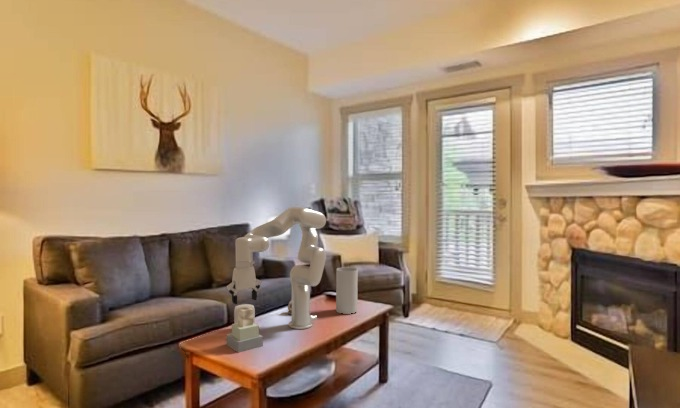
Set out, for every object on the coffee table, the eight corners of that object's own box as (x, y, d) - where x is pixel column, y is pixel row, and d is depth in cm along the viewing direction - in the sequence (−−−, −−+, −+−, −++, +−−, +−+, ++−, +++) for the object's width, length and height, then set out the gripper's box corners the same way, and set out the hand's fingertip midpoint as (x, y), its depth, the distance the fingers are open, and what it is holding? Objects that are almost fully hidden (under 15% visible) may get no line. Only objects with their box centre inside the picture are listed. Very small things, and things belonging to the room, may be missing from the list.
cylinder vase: (336, 308, 251) (337, 267, 251) (357, 308, 251) (357, 267, 250) (335, 314, 239) (336, 271, 238) (357, 314, 238) (357, 271, 238)
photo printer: (234, 330, 209) (234, 306, 209) (234, 327, 214) (234, 304, 213) (254, 329, 212) (255, 305, 212) (254, 326, 216) (254, 302, 216)
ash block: (247, 322, 193) (248, 307, 193) (253, 324, 189) (253, 309, 189) (238, 324, 190) (238, 308, 190) (243, 326, 186) (243, 311, 186)
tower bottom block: (250, 339, 198) (250, 329, 198) (262, 347, 189) (262, 336, 189) (226, 345, 190) (226, 334, 190) (238, 353, 181) (238, 342, 181)
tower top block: (249, 331, 195) (249, 320, 195) (258, 336, 188) (258, 325, 188) (231, 334, 190) (231, 324, 190) (240, 340, 183) (240, 329, 183)
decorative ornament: (285, 312, 241) (285, 286, 241) (297, 310, 245) (298, 285, 245) (291, 316, 235) (291, 289, 234) (303, 314, 239) (303, 288, 238)
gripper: (256, 261, 198) (257, 296, 199) (222, 265, 187) (223, 303, 187) (265, 263, 192) (265, 299, 193) (230, 268, 181) (230, 307, 182)
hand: (244, 301), depth 190 cm, fingers open, 9 cm apart
